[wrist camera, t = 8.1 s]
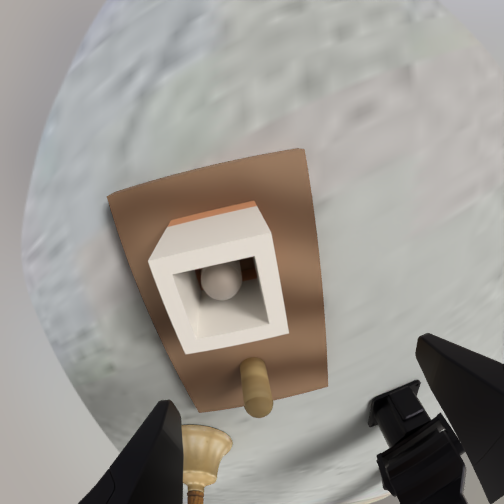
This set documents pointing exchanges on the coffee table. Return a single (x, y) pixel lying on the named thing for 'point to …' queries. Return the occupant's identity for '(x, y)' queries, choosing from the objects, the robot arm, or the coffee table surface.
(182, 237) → the sleeve
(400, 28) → the coffee table surface
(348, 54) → the coffee table surface
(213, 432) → the hand bell
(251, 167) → the pin board
